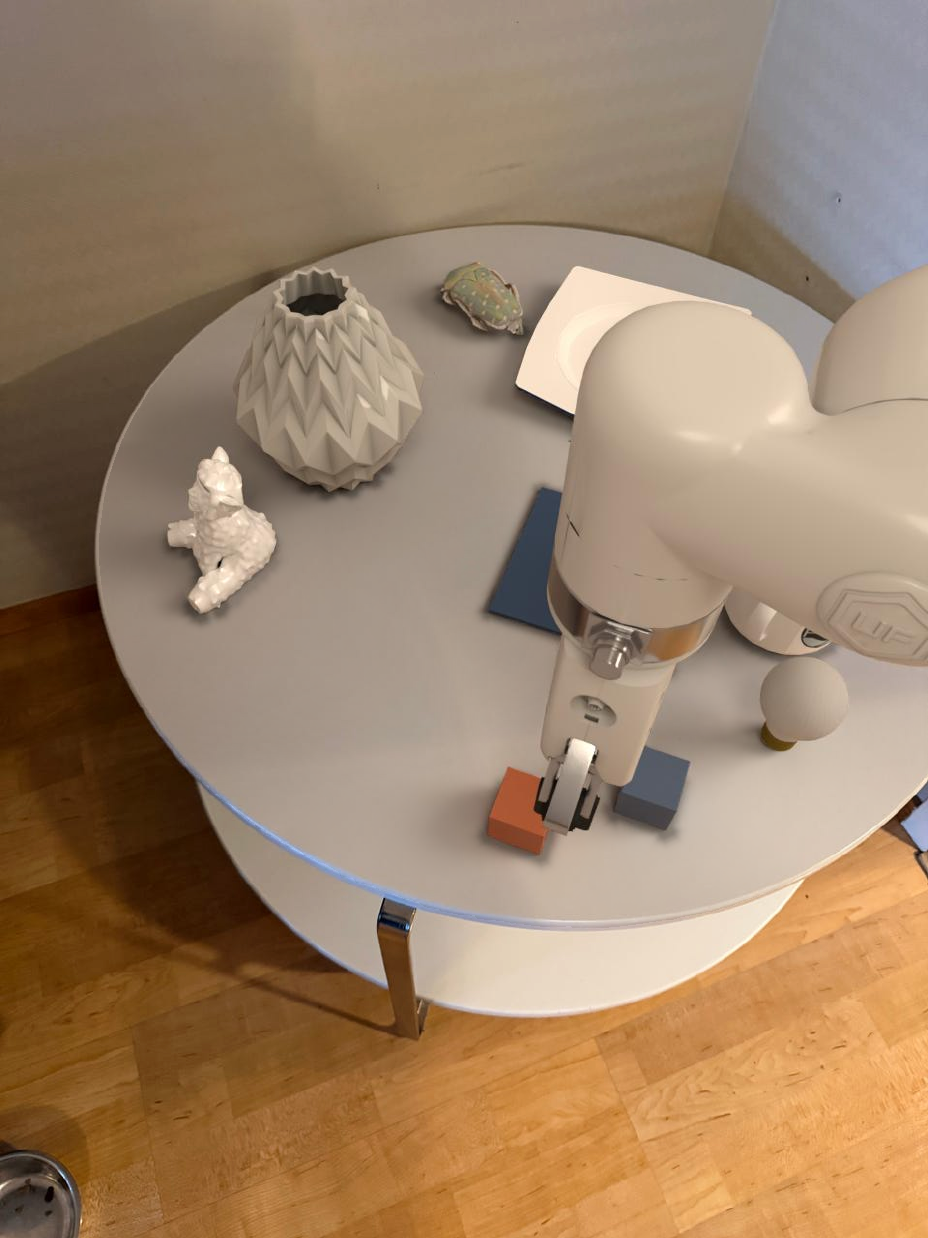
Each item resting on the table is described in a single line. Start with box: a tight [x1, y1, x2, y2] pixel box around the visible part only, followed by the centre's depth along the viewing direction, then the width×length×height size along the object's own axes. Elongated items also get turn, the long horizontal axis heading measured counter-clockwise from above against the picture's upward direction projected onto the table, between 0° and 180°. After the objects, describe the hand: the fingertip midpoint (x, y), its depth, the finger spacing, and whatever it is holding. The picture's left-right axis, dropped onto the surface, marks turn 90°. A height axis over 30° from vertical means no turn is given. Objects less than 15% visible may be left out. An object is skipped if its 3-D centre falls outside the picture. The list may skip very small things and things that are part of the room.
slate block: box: [613, 745, 691, 831], centre depth 68 cm, size 4×4×4 cm
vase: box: [232, 265, 426, 493], centre depth 79 cm, size 16×16×18 cm
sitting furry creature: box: [167, 446, 277, 615], centre depth 76 cm, size 10×9×12 cm
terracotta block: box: [487, 766, 550, 856], centre depth 67 cm, size 4×4×4 cm
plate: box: [514, 265, 753, 419], centre depth 92 cm, size 20×20×3 cm
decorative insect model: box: [439, 261, 525, 336], centre depth 97 cm, size 9×11×5 cm
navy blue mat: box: [488, 486, 562, 636], centre depth 80 cm, size 15×14×1 cm
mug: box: [724, 587, 832, 656], centre depth 75 cm, size 13×10×8 cm
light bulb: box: [759, 656, 850, 752], centre depth 68 cm, size 6×6×10 cm
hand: (587, 742), depth 55 cm, fingers open, 9 cm apart
